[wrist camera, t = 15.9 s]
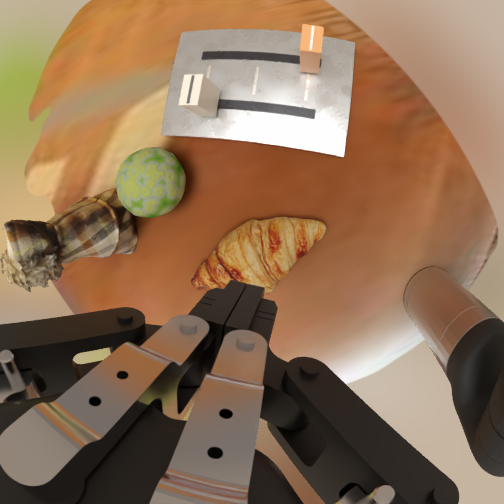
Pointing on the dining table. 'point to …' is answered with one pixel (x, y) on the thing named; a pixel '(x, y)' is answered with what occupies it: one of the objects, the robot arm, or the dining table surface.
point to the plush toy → (67, 239)
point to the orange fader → (311, 48)
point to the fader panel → (264, 90)
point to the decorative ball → (150, 182)
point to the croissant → (258, 252)
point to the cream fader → (199, 95)
